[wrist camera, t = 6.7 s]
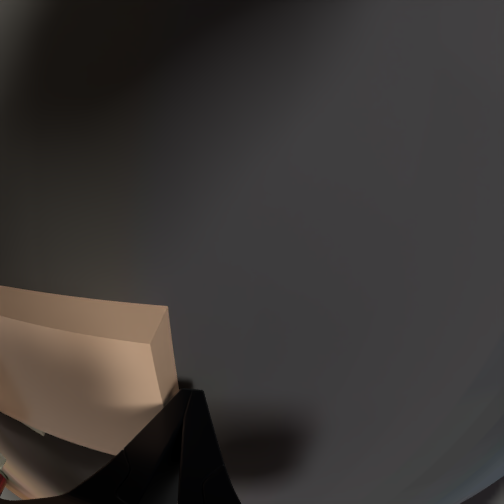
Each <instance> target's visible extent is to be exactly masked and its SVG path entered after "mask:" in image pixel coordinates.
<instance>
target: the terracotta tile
mask: <svg viewBox="0 0 504 504" xmlns="http://www.w3.org/2000/svg"><path fill="white" fill-rule="evenodd" d="M178 391H179V386H178V380H177V373H176V367H175V360H174V353H173V346H172V338H171V330H170V321H169V313H168V306H158V305H146V304H135V303H125V302H115V301H106V300H97V299H89V298H81V297H73V296H65V295H58V294H51V293H44V292H37V291H31V290H24V289H18V288H12V287H7V286H1V285H0V412H2V413H4V414H6V415H8V416H10V417H12V418H14V419H16V420H18V421H20V422H22V423H25V424H27V425H29V426H31V427H34V428H36V429H38V430H41V431H43V432H45V433H48V434H51V435H53V436H56V437H58V438H61V439H64V440H67V441H69V442H72V443H75V444H78V445H81V446H84V447H87V448H91V449H94V450H97V451H101V452H104V453H108V454H112V455H117V454H118V453H119V452H120V451H121V450H124V447H125V446H126V445H127V444H128V443H129V442H130V441H131V440H132V439H133V438H134V437H135V436H136V435H137V434H138V433H139V432H140V431H141V430H142V429H143V428H144V427H145V426H146V425H147V424H148V423H149V422H150V421H151V420H152V419H153V418H154V417H155V416H156V415H157V414H158V413H159V411H160V410H161V409H162V408H163V407H164V406H165V405H166V404H167V403H168V402H169V401H170V400H171V399H172V398H173V397H174V396H175V395H176V394H177V392H178Z"/></svg>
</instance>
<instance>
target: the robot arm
mask: <svg viewBox="0 0 504 504" xmlns="http://www.w3.org/2000/svg"><path fill="white" fill-rule="evenodd" d="M177 501H178V504H241V502H240V500H239V499H238V497H237V495H236V493H235V491H234V489H233V486H232V484H231V481H230V479H229V476H228V473H227V470H226V467H225V464H224V461H223V458H222V454H221V451H220V448H219V444H218V441H217V438H216V434H215V431H214V427H213V424H212V420H211V416H210V413H209V409H208V405H207V402H206V398H205V394H204V391H203V390H196V389H186V388H182V389H180V390H179V391H178V392H177V394H176V395H175V396H174V397H173V398H172V399H171V400H170V401H169V402H168V403H167V404H166V405H165V406H164V407H163V408H162V409H161V410H160V411H159V413H158V414H157V415H156V416H155V417H154V418H153V419H152V420H151V421H150V422H149V423H148V424H147V425H146V426H145V427H144V428H143V429H142V430H141V431H140V432H139V433H138V434H137V435H136V436H135V437H134V438H133V439H132V440H131V441H130V442H129V443H128V444H127V445H126V446H125V447H124V450H121V451H120V452H119V453H118V454H117V455H116V456H115V457H114V458H113V459H112V460H111V461H110V462H109V463H108V464H106V465H105V466H104V467H103V468H101V469H100V470H99V471H97V472H96V473H95V474H93V475H92V476H91V477H89V478H88V479H87V480H85V481H84V482H82V483H81V484H80V485H78V486H77V487H75V488H74V489H72V490H71V491H69V492H67V493H65V494H62V495H59V496H55V497H48V498H39V499H30V500H18V501H9V500H4V499H1V498H0V504H177Z"/></svg>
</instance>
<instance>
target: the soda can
mask: <svg viewBox="0 0 504 504" xmlns="http://www.w3.org/2000/svg"><path fill="white" fill-rule="evenodd" d="M6 483H7V477H6V475H5V474H4V473H3V472H2V471H1V470H0V496H1V494H2V492H3V489H4V487H5V485H6Z"/></svg>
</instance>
